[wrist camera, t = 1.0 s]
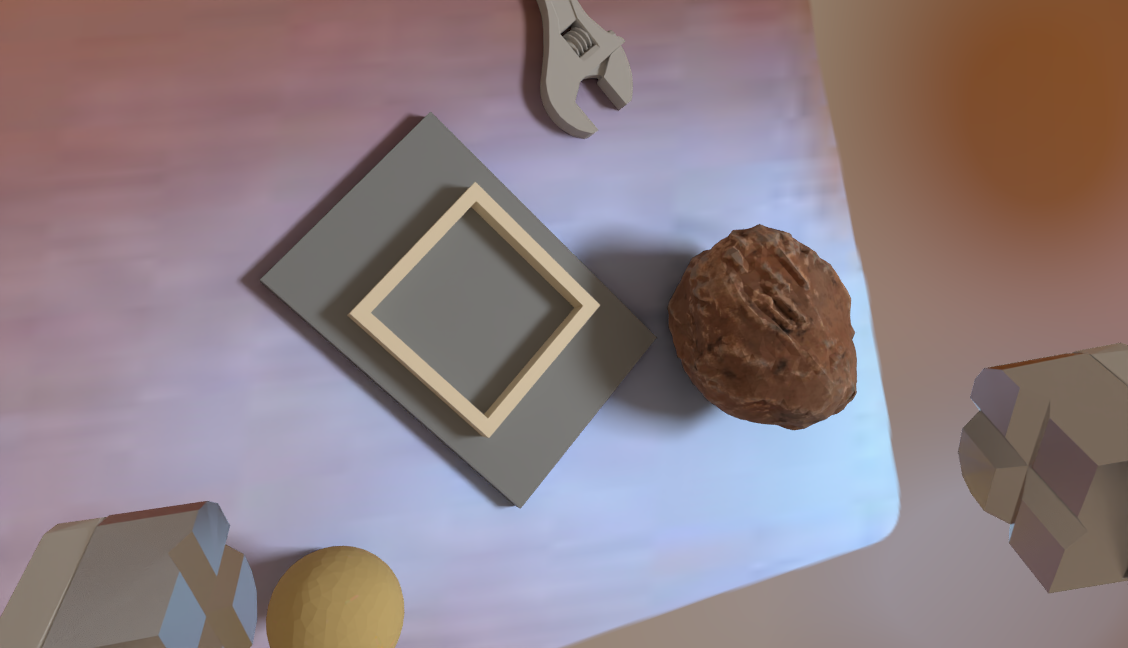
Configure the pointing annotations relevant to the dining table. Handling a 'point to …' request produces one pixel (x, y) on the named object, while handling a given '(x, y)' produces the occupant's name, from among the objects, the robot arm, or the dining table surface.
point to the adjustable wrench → (579, 64)
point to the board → (463, 309)
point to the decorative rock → (766, 330)
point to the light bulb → (336, 602)
